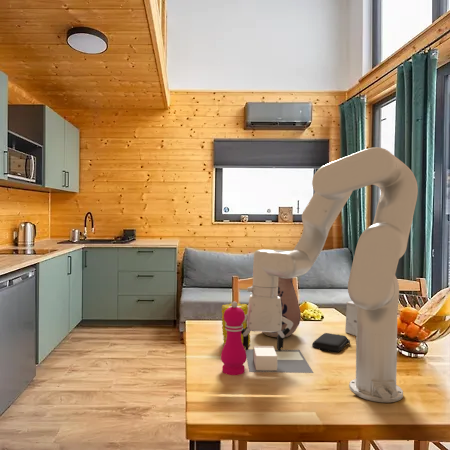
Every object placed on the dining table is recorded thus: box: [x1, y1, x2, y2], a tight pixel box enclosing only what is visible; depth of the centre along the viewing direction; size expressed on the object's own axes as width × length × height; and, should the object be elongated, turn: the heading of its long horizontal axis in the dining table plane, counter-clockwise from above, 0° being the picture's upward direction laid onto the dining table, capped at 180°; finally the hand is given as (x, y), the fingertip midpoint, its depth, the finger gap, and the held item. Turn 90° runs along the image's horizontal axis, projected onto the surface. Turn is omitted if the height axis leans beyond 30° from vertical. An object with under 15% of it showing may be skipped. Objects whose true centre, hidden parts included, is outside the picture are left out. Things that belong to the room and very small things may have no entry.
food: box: [221, 303, 251, 348], centre depth 134 cm, size 15×12×10 cm
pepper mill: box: [220, 301, 247, 376], centre depth 109 cm, size 7×7×20 cm
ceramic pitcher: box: [262, 277, 302, 338], centre depth 149 cm, size 18×21×25 cm
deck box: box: [252, 345, 277, 370], centre depth 114 cm, size 9×6×4 cm
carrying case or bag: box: [312, 332, 351, 354], centre depth 134 cm, size 11×3×15 cm
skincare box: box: [345, 300, 358, 337], centre depth 150 cm, size 6×4×12 cm
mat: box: [244, 348, 314, 374], centre depth 118 cm, size 20×18×1 cm
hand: (262, 349), depth 114 cm, fingers open, 9 cm apart
